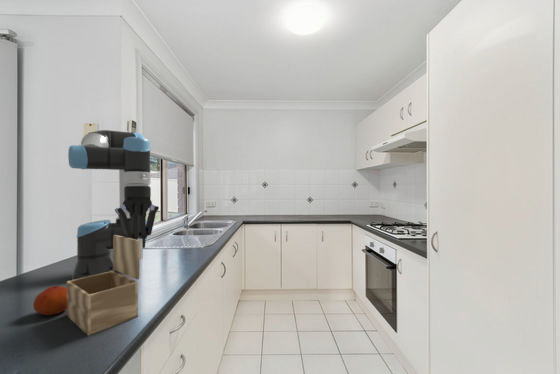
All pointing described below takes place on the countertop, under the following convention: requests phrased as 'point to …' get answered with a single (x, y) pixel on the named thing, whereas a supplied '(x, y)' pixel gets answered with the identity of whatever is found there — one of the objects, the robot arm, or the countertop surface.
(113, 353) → the countertop surface
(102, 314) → the wooden box
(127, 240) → the flap
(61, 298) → the fruit
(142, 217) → the robot arm
